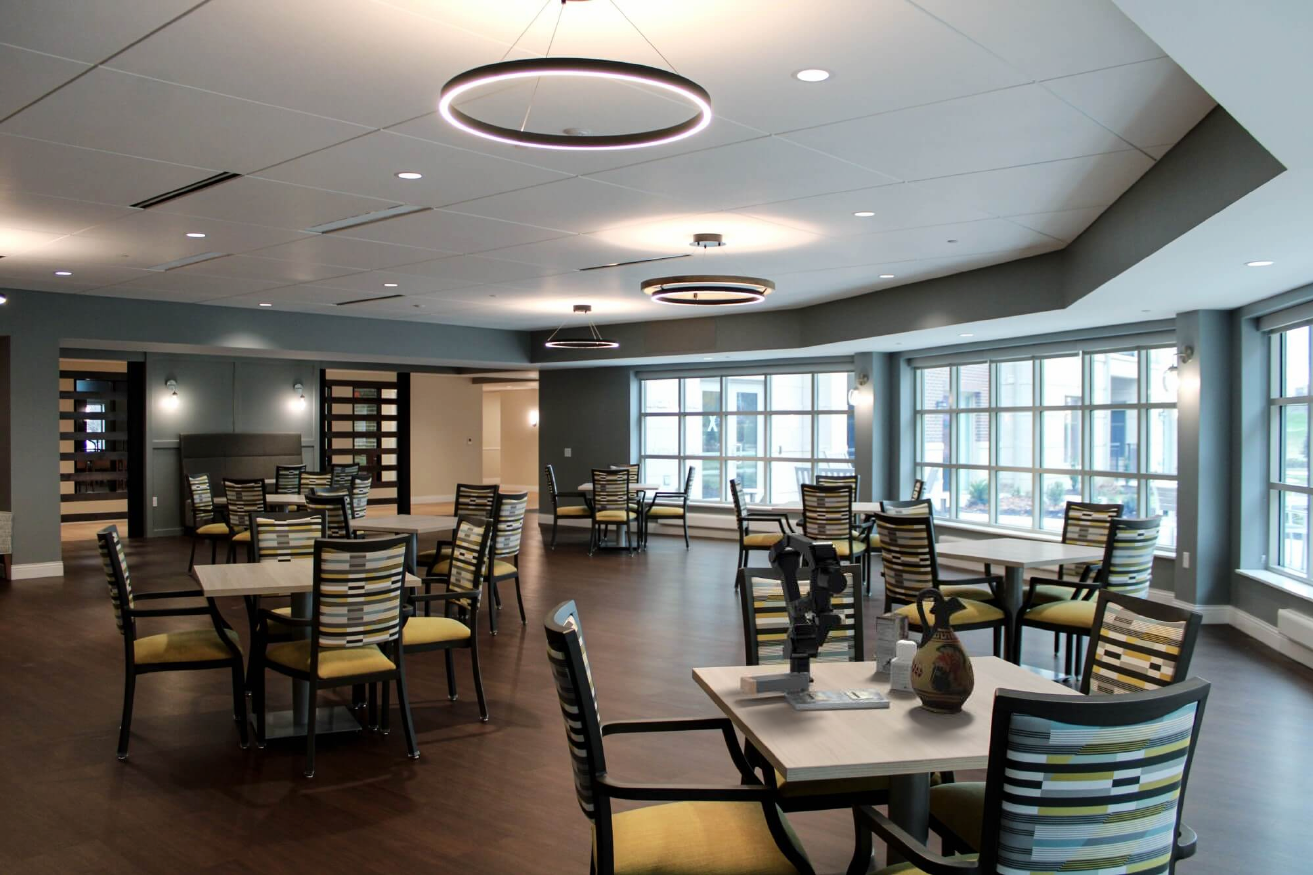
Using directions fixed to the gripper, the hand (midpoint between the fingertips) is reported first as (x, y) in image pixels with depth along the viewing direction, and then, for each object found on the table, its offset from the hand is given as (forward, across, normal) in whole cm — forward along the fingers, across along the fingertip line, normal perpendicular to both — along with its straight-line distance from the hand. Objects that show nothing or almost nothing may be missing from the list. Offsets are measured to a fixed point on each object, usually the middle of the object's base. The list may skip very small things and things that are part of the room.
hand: (820, 646), depth 257 cm
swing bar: (+12, +4, -13) cm, 18 cm away
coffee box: (+12, -21, +28) cm, 37 cm away
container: (+12, -1, +25) cm, 28 cm away
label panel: (+12, +11, +1) cm, 16 cm away
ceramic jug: (+12, +19, +25) cm, 34 cm away
